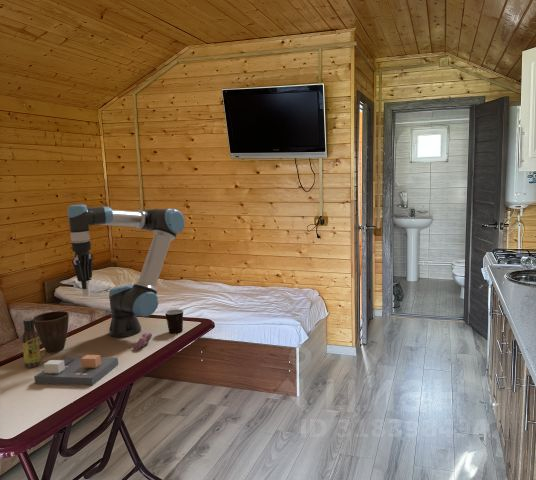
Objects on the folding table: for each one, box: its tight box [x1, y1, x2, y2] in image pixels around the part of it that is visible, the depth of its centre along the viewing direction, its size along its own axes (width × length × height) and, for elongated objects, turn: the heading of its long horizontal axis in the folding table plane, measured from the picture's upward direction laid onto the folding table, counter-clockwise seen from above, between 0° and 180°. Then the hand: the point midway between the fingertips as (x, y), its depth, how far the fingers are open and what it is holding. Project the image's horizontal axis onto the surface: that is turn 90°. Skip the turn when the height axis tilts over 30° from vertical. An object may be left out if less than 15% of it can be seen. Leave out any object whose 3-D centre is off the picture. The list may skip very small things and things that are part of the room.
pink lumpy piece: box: [132, 332, 153, 350], centre depth 228 cm, size 10×5×7 cm, turn 169°
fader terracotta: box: [81, 354, 102, 368], centre depth 199 cm, size 4×6×4 cm, turn 79°
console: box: [34, 356, 119, 386], centre depth 200 cm, size 20×24×3 cm
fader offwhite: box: [43, 359, 65, 373], centre depth 196 cm, size 4×6×4 cm, turn 79°
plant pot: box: [33, 310, 70, 354], centre depth 229 cm, size 15×15×16 cm
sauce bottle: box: [21, 317, 42, 369], centre depth 211 cm, size 6×6×20 cm
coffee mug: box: [164, 308, 184, 335], centre depth 244 cm, size 12×9×10 cm
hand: (86, 295), depth 217 cm, fingers closed
